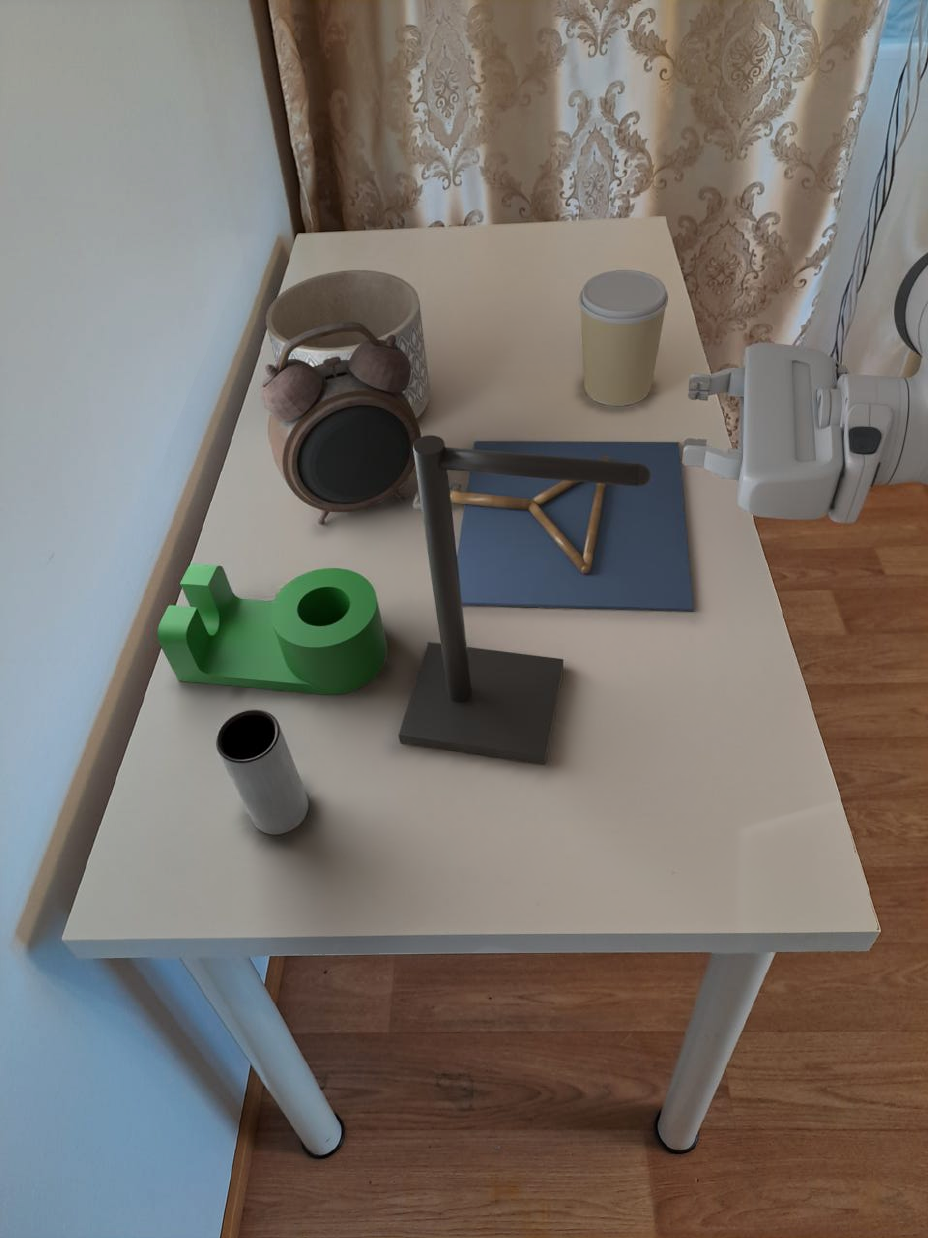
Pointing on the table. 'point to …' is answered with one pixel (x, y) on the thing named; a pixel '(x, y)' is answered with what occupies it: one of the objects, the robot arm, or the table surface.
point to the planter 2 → (353, 299)
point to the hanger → (540, 514)
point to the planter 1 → (263, 770)
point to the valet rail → (452, 672)
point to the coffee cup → (621, 334)
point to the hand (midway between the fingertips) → (686, 417)
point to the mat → (579, 535)
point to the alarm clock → (342, 422)
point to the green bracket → (276, 633)
